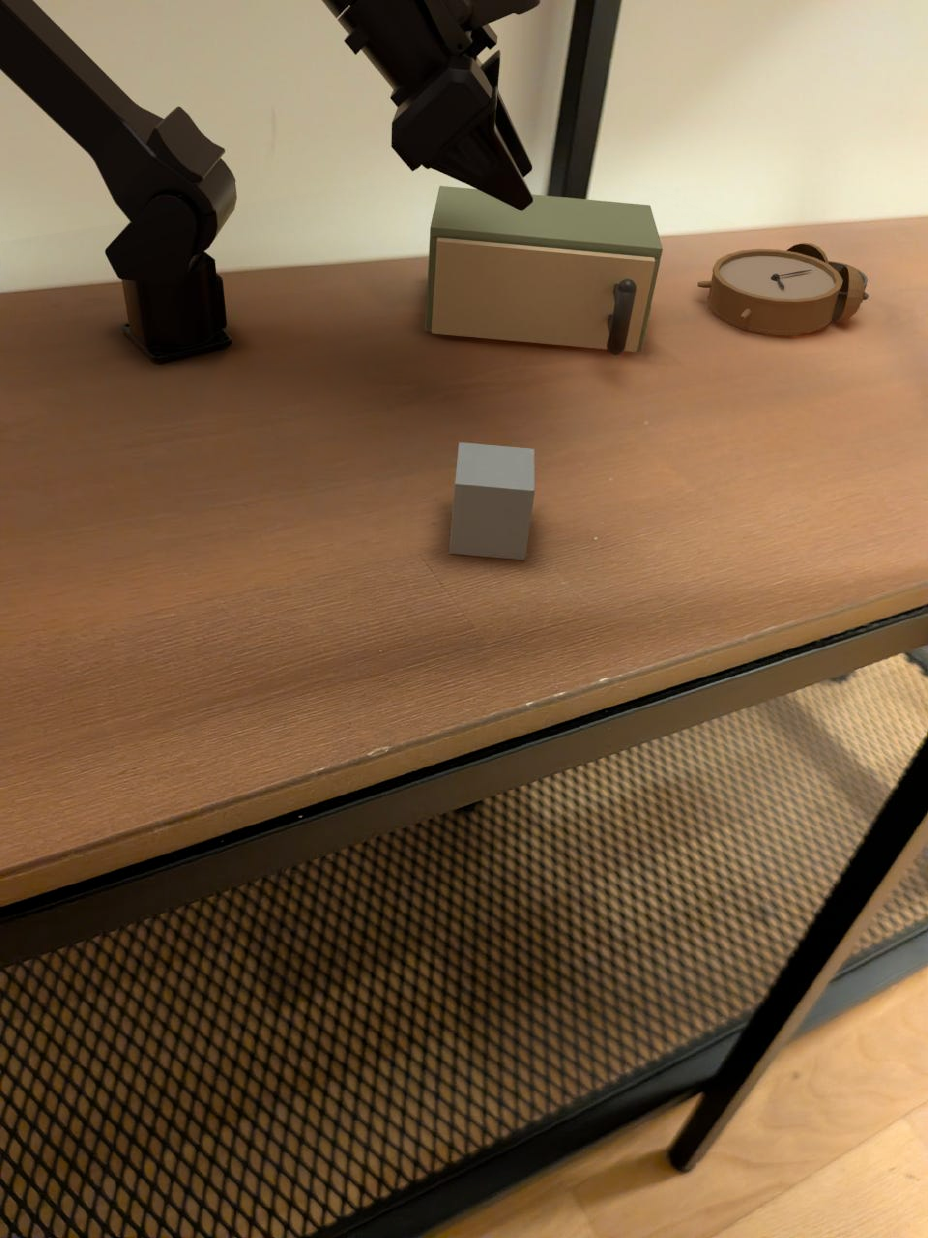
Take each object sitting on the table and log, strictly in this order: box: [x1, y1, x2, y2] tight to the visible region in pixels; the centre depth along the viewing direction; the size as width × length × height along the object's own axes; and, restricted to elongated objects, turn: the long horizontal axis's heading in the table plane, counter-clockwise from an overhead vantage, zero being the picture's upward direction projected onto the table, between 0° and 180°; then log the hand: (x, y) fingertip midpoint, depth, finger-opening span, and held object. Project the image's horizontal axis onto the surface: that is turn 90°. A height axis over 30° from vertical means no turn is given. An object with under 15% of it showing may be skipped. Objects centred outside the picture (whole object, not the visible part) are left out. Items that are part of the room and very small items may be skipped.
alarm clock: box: [697, 242, 870, 336], centre depth 87 cm, size 11×5×15 cm
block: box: [449, 441, 536, 561], centre depth 57 cm, size 4×4×5 cm
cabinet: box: [424, 185, 664, 352], centre depth 80 cm, size 18×10×8 cm, turn 87°
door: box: [431, 237, 655, 356], centre depth 74 cm, size 17×6×8 cm, turn 87°
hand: (527, 188), depth 66 cm, fingers open, 7 cm apart
